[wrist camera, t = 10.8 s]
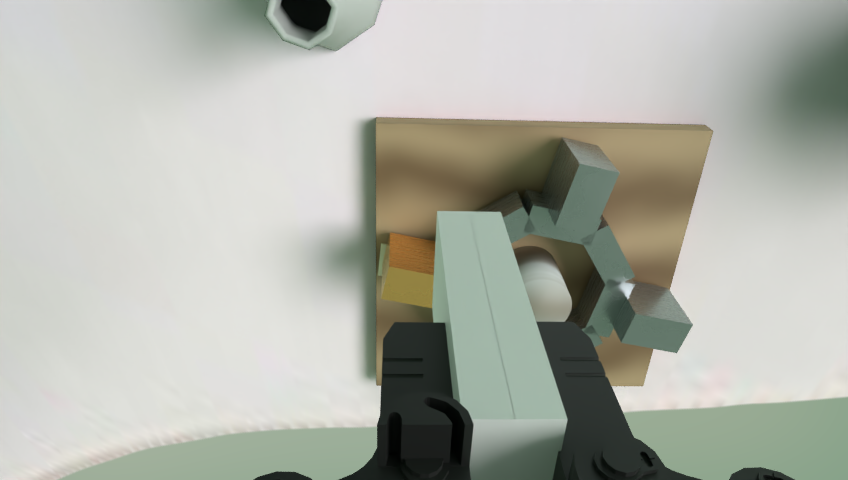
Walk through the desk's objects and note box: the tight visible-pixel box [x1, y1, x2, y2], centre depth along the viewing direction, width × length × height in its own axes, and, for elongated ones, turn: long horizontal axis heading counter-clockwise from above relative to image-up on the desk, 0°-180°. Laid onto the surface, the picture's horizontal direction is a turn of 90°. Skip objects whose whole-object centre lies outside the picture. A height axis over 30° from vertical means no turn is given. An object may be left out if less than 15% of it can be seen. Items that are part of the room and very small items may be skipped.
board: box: [376, 117, 713, 386], centre depth 44 cm, size 22×22×6 cm
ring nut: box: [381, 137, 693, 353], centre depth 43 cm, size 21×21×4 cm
